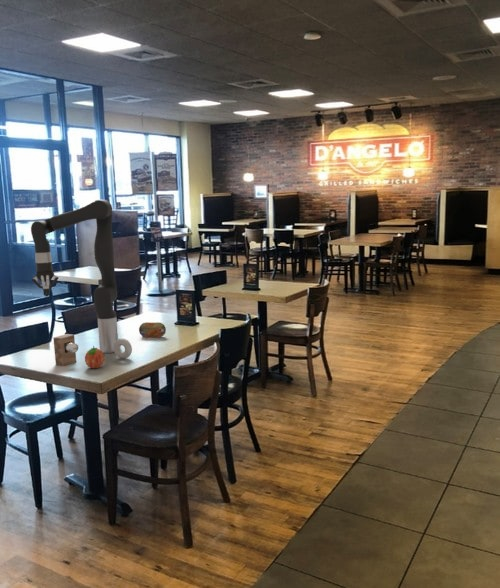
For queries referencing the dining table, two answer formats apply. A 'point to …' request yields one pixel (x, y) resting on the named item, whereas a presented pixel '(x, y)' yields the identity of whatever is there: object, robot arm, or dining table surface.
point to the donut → (126, 345)
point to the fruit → (94, 358)
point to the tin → (152, 329)
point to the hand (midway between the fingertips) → (47, 296)
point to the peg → (71, 347)
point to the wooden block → (60, 353)
